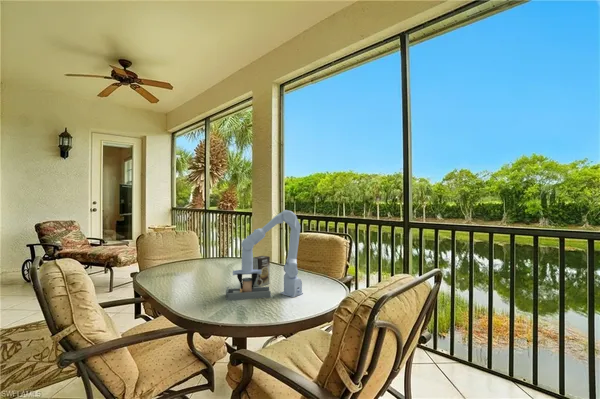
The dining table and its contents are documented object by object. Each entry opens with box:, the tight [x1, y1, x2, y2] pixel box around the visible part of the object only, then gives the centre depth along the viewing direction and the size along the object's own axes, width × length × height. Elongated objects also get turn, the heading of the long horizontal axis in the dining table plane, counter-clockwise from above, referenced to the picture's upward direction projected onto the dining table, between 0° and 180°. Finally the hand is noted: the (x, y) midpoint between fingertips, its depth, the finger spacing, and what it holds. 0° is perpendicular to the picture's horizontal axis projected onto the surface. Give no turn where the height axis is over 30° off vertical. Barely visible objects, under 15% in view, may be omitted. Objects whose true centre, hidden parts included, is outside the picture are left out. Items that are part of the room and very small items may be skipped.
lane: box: [225, 286, 273, 301], centre depth 153 cm, size 23×9×4 cm, turn 101°
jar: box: [242, 277, 252, 292], centre depth 152 cm, size 5×5×7 cm
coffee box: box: [253, 255, 271, 287], centre depth 173 cm, size 9×6×16 cm
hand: (247, 288), depth 153 cm, fingers closed on jar, 5 cm apart
